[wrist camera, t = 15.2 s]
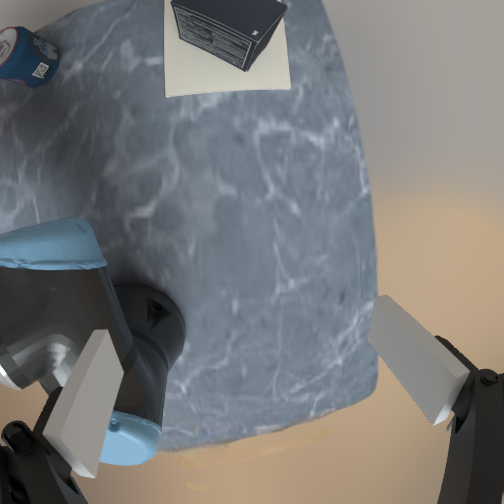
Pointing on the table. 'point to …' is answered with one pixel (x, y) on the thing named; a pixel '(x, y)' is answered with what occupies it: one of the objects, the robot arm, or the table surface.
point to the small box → (229, 27)
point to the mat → (220, 65)
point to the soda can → (26, 57)
